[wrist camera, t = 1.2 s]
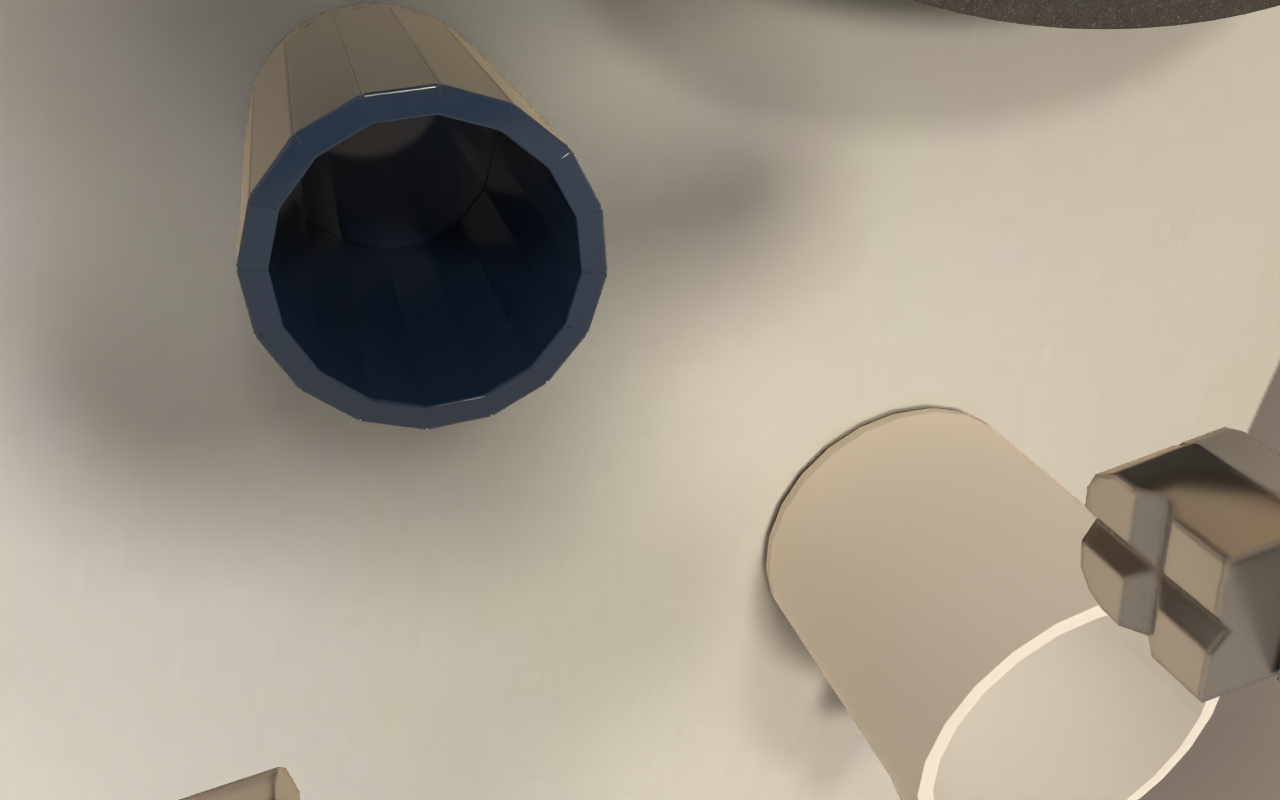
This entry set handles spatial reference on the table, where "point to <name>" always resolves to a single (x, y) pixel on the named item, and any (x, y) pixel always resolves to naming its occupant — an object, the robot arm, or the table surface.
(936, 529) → the mug
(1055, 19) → the bowl
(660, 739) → the table surface
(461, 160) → the cup
